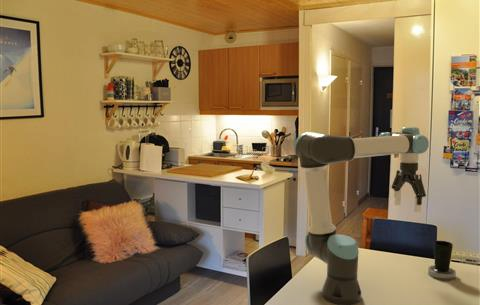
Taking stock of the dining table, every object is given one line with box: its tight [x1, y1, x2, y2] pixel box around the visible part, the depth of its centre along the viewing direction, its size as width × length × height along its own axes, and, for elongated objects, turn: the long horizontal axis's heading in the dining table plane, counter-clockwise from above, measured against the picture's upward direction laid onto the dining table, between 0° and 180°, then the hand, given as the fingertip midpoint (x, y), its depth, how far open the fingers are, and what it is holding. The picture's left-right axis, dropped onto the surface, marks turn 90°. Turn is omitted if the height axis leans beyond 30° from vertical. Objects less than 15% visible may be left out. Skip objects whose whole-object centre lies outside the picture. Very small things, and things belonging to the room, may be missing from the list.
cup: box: [433, 240, 454, 272], centre depth 188 cm, size 8×8×12 cm
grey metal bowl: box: [427, 264, 457, 282], centre depth 189 cm, size 11×11×3 cm
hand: (407, 208), depth 193 cm, fingers open, 13 cm apart
